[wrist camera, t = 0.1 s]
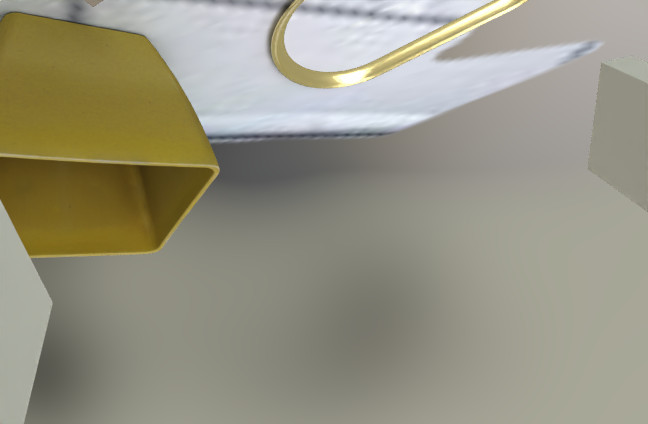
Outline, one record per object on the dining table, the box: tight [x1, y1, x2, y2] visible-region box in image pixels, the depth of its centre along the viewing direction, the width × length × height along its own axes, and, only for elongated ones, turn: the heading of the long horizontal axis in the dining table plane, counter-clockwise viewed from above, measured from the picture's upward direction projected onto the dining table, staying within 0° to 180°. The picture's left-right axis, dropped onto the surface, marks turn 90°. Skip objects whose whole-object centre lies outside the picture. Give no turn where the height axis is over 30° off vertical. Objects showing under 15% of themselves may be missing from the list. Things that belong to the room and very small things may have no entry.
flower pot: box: [0, 13, 220, 258], centre depth 55 cm, size 19×19×17 cm
